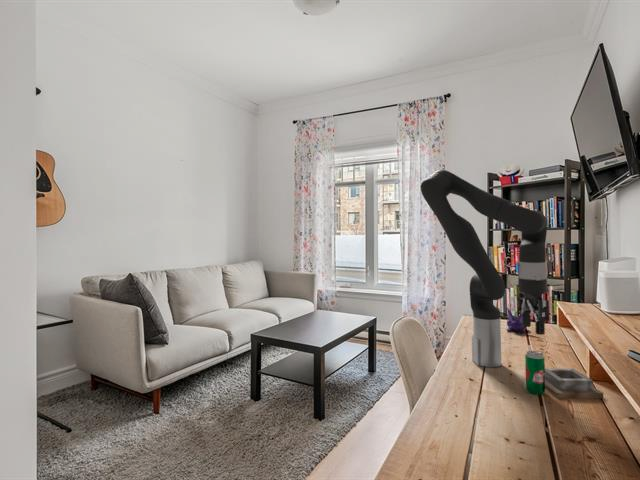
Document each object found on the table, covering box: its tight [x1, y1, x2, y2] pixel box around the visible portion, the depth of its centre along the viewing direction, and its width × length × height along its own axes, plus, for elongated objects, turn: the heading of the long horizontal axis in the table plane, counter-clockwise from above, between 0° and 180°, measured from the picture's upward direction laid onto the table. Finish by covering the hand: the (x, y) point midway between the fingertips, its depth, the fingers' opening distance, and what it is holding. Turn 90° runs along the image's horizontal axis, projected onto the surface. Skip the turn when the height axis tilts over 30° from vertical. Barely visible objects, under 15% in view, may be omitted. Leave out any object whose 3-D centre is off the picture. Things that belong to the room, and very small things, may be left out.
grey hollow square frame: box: [545, 368, 604, 399], centre depth 115 cm, size 13×13×4 cm
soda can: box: [524, 350, 546, 396], centre depth 113 cm, size 5×5×12 cm
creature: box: [506, 306, 527, 334], centre depth 180 cm, size 9×18×12 cm, turn 149°
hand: (533, 330), depth 113 cm, fingers open, 8 cm apart
